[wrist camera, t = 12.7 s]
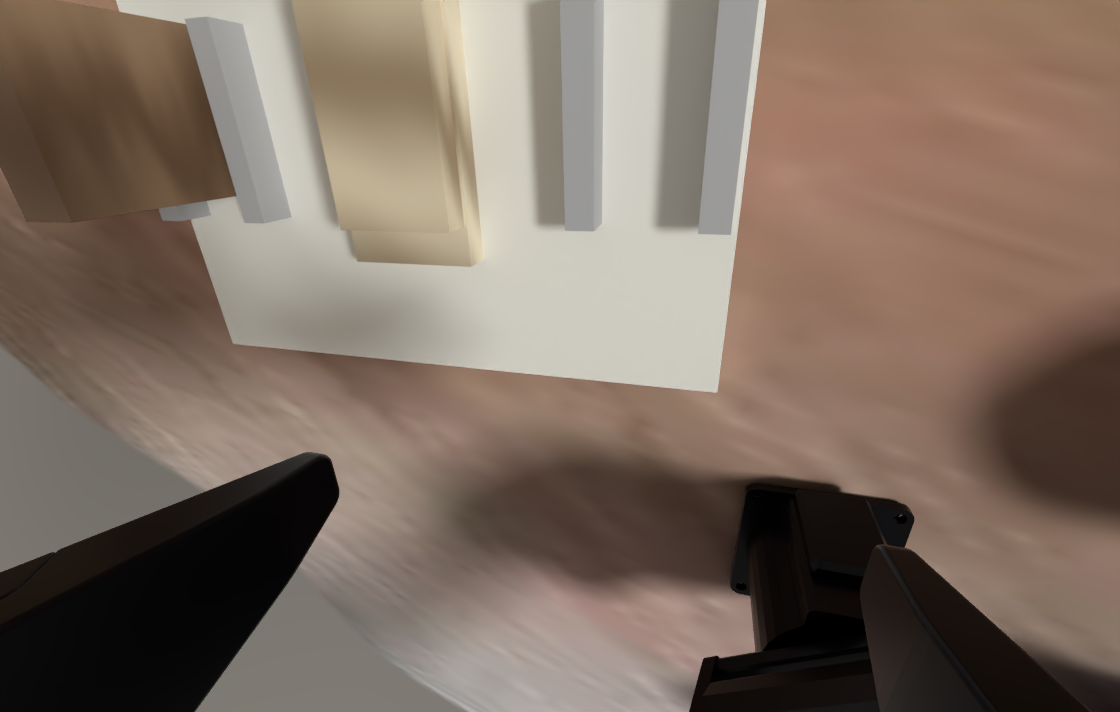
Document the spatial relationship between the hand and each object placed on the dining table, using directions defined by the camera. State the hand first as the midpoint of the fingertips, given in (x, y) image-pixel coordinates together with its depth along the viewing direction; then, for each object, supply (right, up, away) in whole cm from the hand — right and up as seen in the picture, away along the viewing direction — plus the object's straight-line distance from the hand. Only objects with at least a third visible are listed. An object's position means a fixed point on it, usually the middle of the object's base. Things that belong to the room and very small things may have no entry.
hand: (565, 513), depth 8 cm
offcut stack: (-6, +11, +10) cm, 16 cm away
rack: (-5, +12, +11) cm, 17 cm away
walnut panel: (-14, +12, +12) cm, 22 cm away
